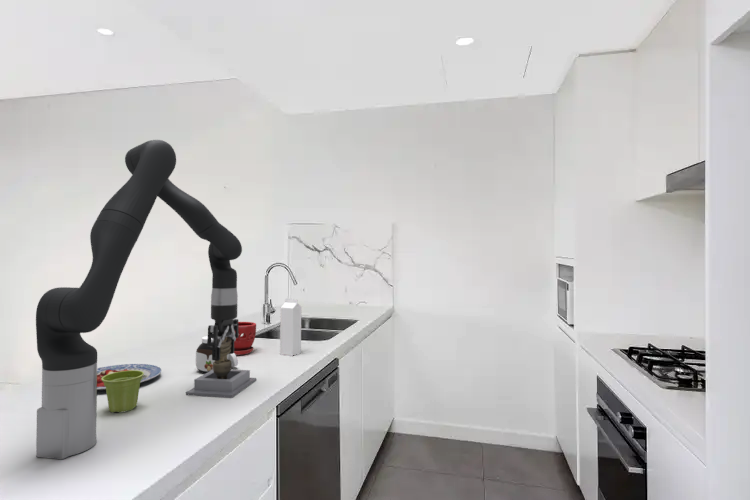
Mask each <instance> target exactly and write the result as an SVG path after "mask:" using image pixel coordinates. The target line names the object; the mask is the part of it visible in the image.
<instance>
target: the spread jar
mask: <svg viewBox="0 0 750 500" xmlns="http://www.w3.org/2000/svg"><path fill="white" fill-rule="evenodd" d="M207 340H208V335H205V336H202V337H201V343H200V344H199V346H198V347H197V348H196V351H195V367H196V369H197V371H199V373H201V374H203V375H204V374H206V373H208V372H210V371H211V370H213V362H214V361H215V360H212V347H210V346H207ZM212 340H213V339H212V338H211V342H212ZM227 359H228V360H231V369H234V368H235V367H237V366H238V364H239V360H238V358H237V355H235V353H233V354H228V355H227Z"/></svg>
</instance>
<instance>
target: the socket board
mask: <svg viewBox="0 0 750 500" xmlns="http://www.w3.org/2000/svg"><path fill="white" fill-rule="evenodd" d="M250 373H251V370H249V369H234V368H231V371H230V372H229V374H228V375H227V379H217V375H216V374H215V373H214V371H213V370H211V371H210V372H208V373H206V374H203V375H200V376H199V377H197V378H194V381H193V382H194V383H193V388H191V389H189V390H187V391H186V392H185V395H186V396H193V397H195V396H196V397H211V398H227V399H232V398H234V397H235V396H237V395H238V394H239V393H241V392H243V391H245V390H246V388H247V387H248V388H249V387H250V385H252V384H254V383H255V382H256V381H257V378H256V377H250V376H251V375H250Z"/></svg>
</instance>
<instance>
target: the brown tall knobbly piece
mask: <svg viewBox="0 0 750 500" xmlns="http://www.w3.org/2000/svg"><path fill="white" fill-rule="evenodd" d="M218 341H219V340H218ZM218 341H217V343H218ZM231 342H232V340H231V339H230V338H229V337H226V336H225V339H224V341H222V343H221V346H220V360H218V361H216V360H215V361H214V362H213V371H214V373H215V374H216V375H217V379H227V375H228V374H229V372H230V371H231V369H232V368H231V360H228V359H227V355H228V354H229V353H230V352H231V349H230V348H231Z"/></svg>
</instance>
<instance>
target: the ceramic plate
mask: <svg viewBox="0 0 750 500" xmlns="http://www.w3.org/2000/svg"><path fill="white" fill-rule="evenodd" d="M129 370H138V371H142V372H144V375H143V376H142V380H141V381H140V384H141V383H143V382H147V381H150V380H152V379H155V378H156V377H157V376H159V375H160V374H161V373H162V368H161V367H160V366H158V365H154V364H147V363H126V364H115V365H107V366H102V367H97V391H106V387H105V386H104V382H103V381H102V377H103V376H105V375H108V374H111V373H115V372H120V371H129Z"/></svg>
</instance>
